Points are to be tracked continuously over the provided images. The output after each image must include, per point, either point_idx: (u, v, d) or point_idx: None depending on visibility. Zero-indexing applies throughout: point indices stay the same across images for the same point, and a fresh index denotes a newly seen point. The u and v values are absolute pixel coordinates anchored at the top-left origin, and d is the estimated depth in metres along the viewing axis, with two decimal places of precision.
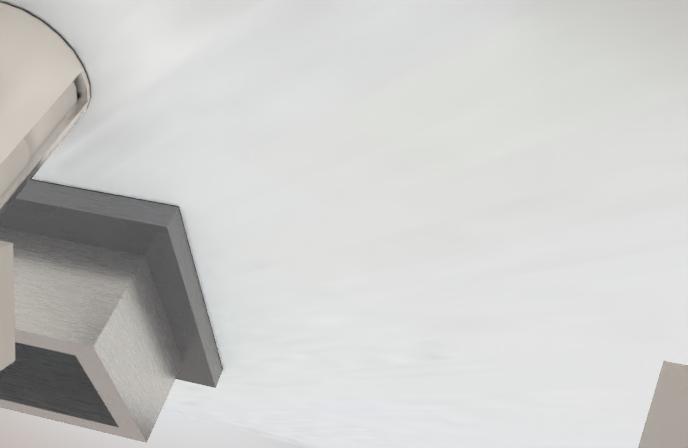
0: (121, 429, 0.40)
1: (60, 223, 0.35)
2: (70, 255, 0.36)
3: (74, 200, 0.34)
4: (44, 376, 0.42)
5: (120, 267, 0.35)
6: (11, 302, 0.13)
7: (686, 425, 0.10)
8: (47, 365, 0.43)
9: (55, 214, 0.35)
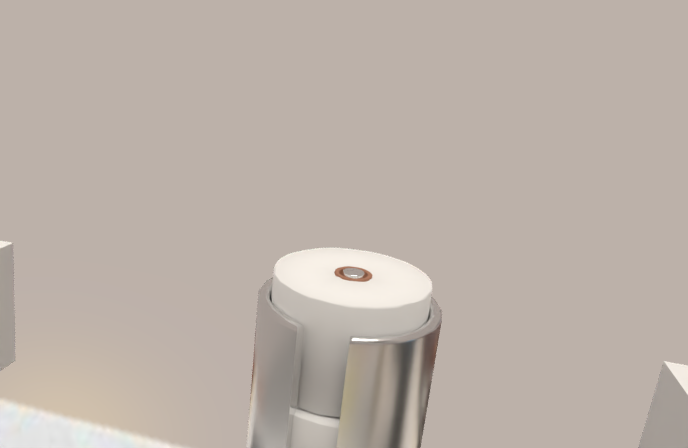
0: None
1: None
2: None
3: None
4: None
5: None
6: (11, 302, 0.13)
7: (686, 425, 0.10)
8: None
9: None
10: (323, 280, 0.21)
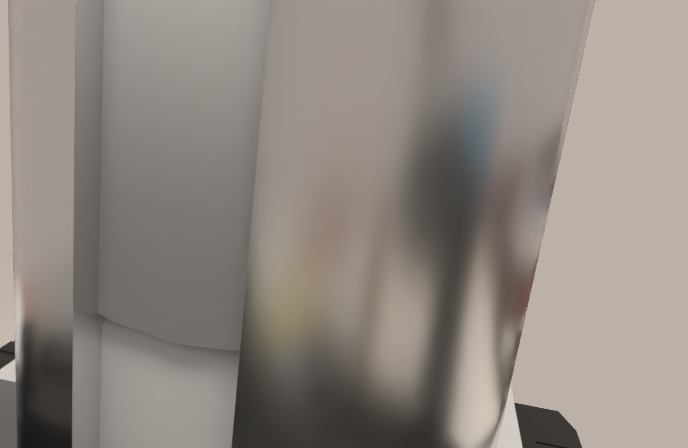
0: None
1: None
2: None
3: None
4: None
5: None
6: None
7: None
8: None
9: None
10: None
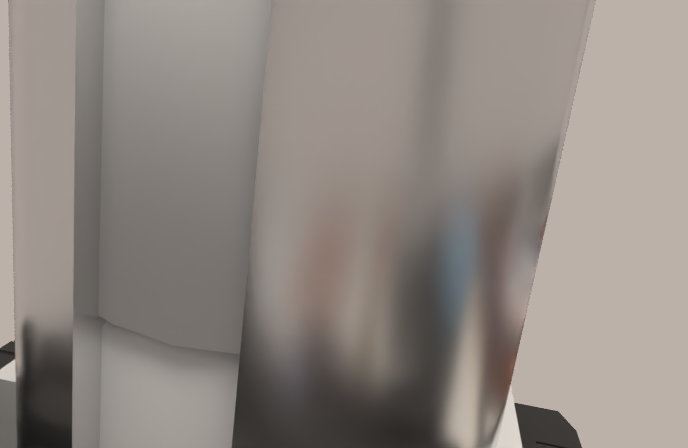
0: None
1: None
2: None
3: None
4: None
5: None
6: None
7: None
8: None
9: None
10: None
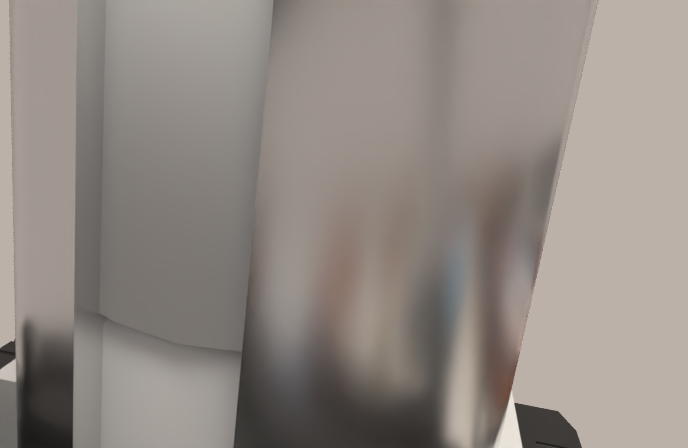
0: None
1: None
2: None
3: None
4: None
5: None
6: None
7: None
8: None
9: None
10: None
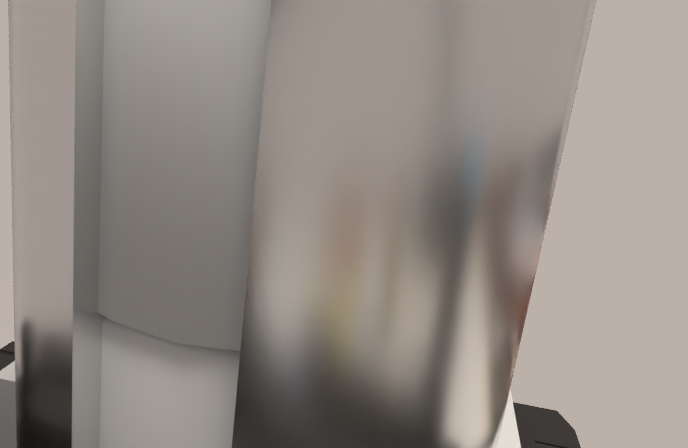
0: None
1: None
2: None
3: None
4: None
5: None
6: None
7: None
8: None
9: None
10: None
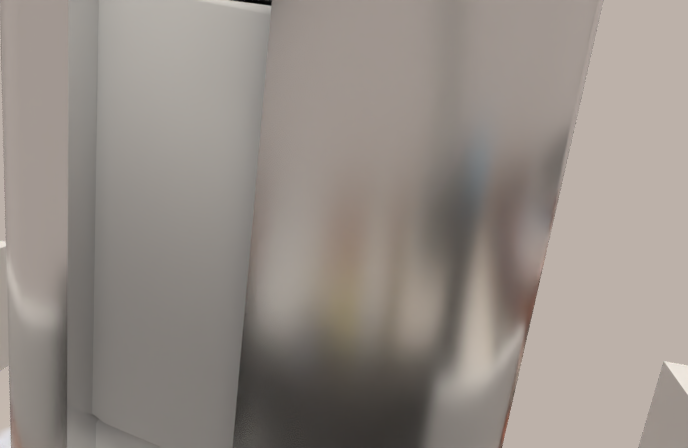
0: None
1: None
2: None
3: None
4: None
5: None
6: None
7: (686, 425, 0.10)
8: None
9: None
10: None
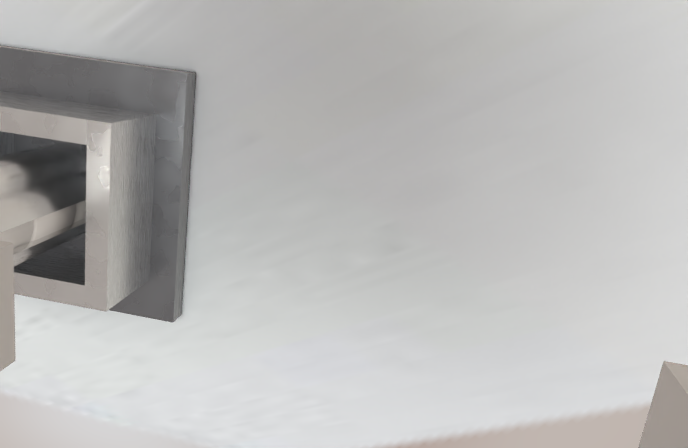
0: (86, 289, 0.40)
1: (92, 82, 0.43)
2: (92, 107, 0.42)
3: (111, 61, 0.43)
4: None
5: (135, 113, 0.42)
6: (11, 302, 0.13)
7: (686, 425, 0.10)
8: None
9: (91, 71, 0.42)
10: None
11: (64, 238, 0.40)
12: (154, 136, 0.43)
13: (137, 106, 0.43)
